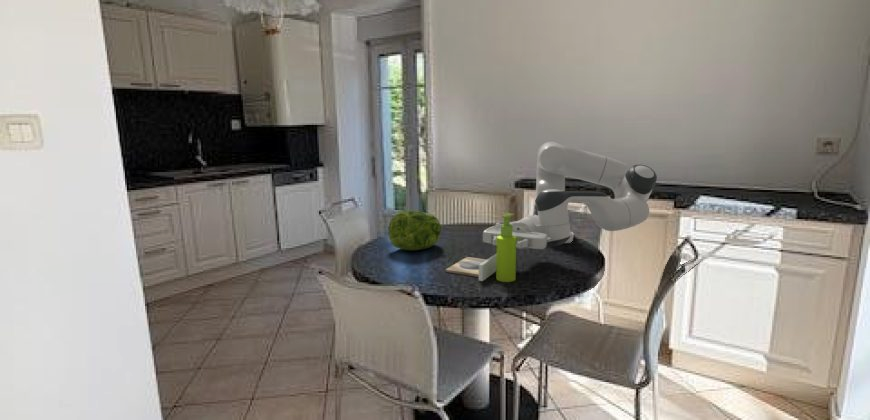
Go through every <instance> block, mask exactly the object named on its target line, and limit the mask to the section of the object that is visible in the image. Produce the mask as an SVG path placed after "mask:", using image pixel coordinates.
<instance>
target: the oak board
mask: <svg viewBox="0 0 870 420" xmlns="http://www.w3.org/2000/svg"><path fill="white" fill-rule="evenodd" d="M485 260H487V258H486V259H483V258H479V257H470V256H466V257H465V258H463V259H461V260H459V261H458V262H456V263H455V264H452V265H451V266H449V267H447V268H445V272H446V273H452V274H458V275H463V276H469V277H477V278H479V264H481V263H482V262H484V261H485Z"/></svg>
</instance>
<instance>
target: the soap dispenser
mask: <svg viewBox="0 0 870 420" xmlns="http://www.w3.org/2000/svg"><path fill="white" fill-rule="evenodd" d="M515 215H516V214H515V213H512V212H511V213H508V212H506V213H504V214H503V215H502V216H501V217H502V218H503V222H504V224H503V225H501V235H499V236H497V245H496V253H495V254H496V272H495V279H496V281H498V282H503V283H511V282H514V281H516V279H517V278H516V277H517V275H516V273H517V272H516V271H517V270H516V269H517V268H516V267H517V248H515V246H516V245H515V243H516V237H515V236H512V228H513V226H512V225H511V224H510V222H511V217H513V216H515Z"/></svg>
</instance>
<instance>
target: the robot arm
mask: <svg viewBox="0 0 870 420" xmlns="http://www.w3.org/2000/svg"><path fill="white" fill-rule="evenodd" d="M566 177H567V178H573V179H577V180H581V181H585V182H589V183H592V184H596V185H599V186H603V187H607V188H609V189H610V190H612V193H611V194H610V196H608V194H607V193H605V192H603V191H592V190H591V191H589V190H566ZM657 179H658V175H657V173H656V172H655V171H654V169H652V167H649V166H648V165H644V164H635V165H632V166H631V167H630V165H628V164H627V163H625V162H623V161H620V160H618V159H615V158H613V157H610V156H606V155H603V154H602V155H601V154H599V153H595V152H592V151H587V150H583V149H579V148H575V147H572V146H567V145H563V144H560V143H558V142H556V141H547V142H545V143H543V144H541V146H539V148H538V150H537V153H536V180H535V181H536V183H535V184H536V185H535V200H534V203H535V204H534V208H533V212H534V214H533V215H527V216H525V217H522V218H521V219H519V220H514V221H510V224H511V225H512V226H513V228H512V236H515V237H516V243H515V245H516V246H515V248H516V249H522V250H523V249H533V250H544V249H546V248H547V247H549V248H550V247H551V248H552V247H559V246H561V245H564V244H572V243H573V242H572V241H574V236H575V235H574V232H573V231H571V225H570V219H569V211H568V210H569V209H568V206H569V204H570V203H583V204H585V206H586V207H587V209H588V210H589V213H590V214H591V217H592V219H593V221H594V223H595V224H596V225H597V226H598V227H600V228H601V229H603V230H605V231H607V232H616V231H617V232H618V231H622V230H627V229H630V228H634V227H636V226H638V225H640V224H642V223H644V222H646V220H647V219H648V218H649V216H650V206H649V204H648V200H649V198H650V196H651V194H652V192H653V189H654V188H655V186H656V184H657ZM503 224H504V221H503V222H501V221H500V222H496V223H495V225H493V226H490V227H488V228H486V229H484V230H483V232H482V242H483V243H486V244H492V246H497V236H499V235H501V225H503ZM571 242H572V243H571Z"/></svg>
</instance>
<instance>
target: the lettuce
mask: <svg viewBox="0 0 870 420" xmlns="http://www.w3.org/2000/svg"><path fill="white" fill-rule="evenodd" d="M388 224H389V225H388V228H387V233H388V237H389V240H390V243H391V244H392V245H393V247H394V248H397V249H402V250H404V251H410V252H412V251H414V252H416V251H420V250H421V251H422V250H425V249H429V248H431V247H432V246H434V245H435V244H437V242H438V241H439V239H440V238H441V234H442V230H443V229H442V224H441V222H440V220H439V219H438V217H435V216H434V215H433V214H431V213H428V212H424V211H420V210H419V211H418V210H402V211H399V212H397V213H396V214H395V215H394V216H393V217H392V218H391V220H390V222H389V223H388Z"/></svg>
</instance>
